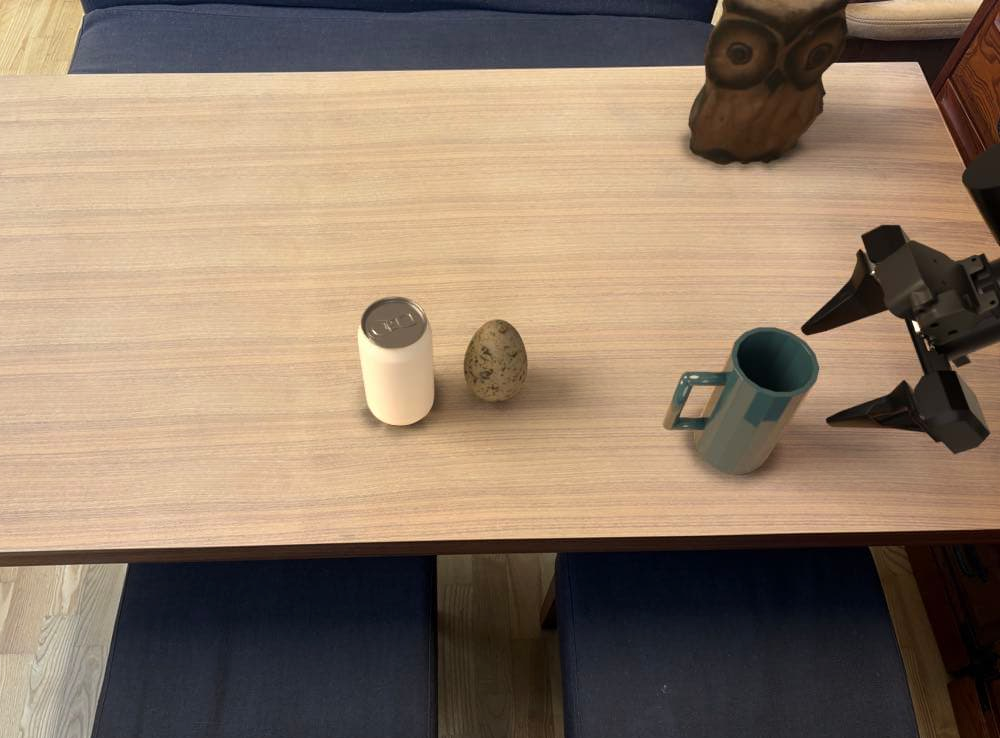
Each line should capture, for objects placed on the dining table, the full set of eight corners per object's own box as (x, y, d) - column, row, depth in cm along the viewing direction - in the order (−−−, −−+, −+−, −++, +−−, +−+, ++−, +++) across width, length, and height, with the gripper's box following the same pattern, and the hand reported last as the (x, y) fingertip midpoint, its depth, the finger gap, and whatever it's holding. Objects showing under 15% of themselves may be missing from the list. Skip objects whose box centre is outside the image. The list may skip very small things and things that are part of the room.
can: (357, 384, 83) (344, 305, 72) (419, 363, 84) (415, 283, 74) (381, 437, 79) (370, 362, 69) (444, 414, 81) (444, 338, 71)
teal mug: (760, 410, 81) (808, 327, 70) (774, 474, 78) (827, 396, 67) (650, 410, 81) (682, 326, 70) (660, 474, 77) (694, 396, 67)
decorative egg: (515, 359, 84) (522, 294, 76) (531, 409, 81) (540, 346, 73) (457, 370, 84) (457, 305, 75) (470, 420, 80) (473, 358, 72)
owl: (810, 146, 102) (881, -13, 85) (744, 195, 97) (806, 37, 80) (727, 95, 107) (779, -65, 90) (661, 139, 102) (702, -21, 85)
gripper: (943, 139, 61) (746, 244, 71) (1038, 346, 51) (794, 437, 61) (992, 219, 68) (807, 305, 77) (1084, 416, 58) (858, 488, 67)
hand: (815, 375), depth 70 cm, fingers open, 9 cm apart
